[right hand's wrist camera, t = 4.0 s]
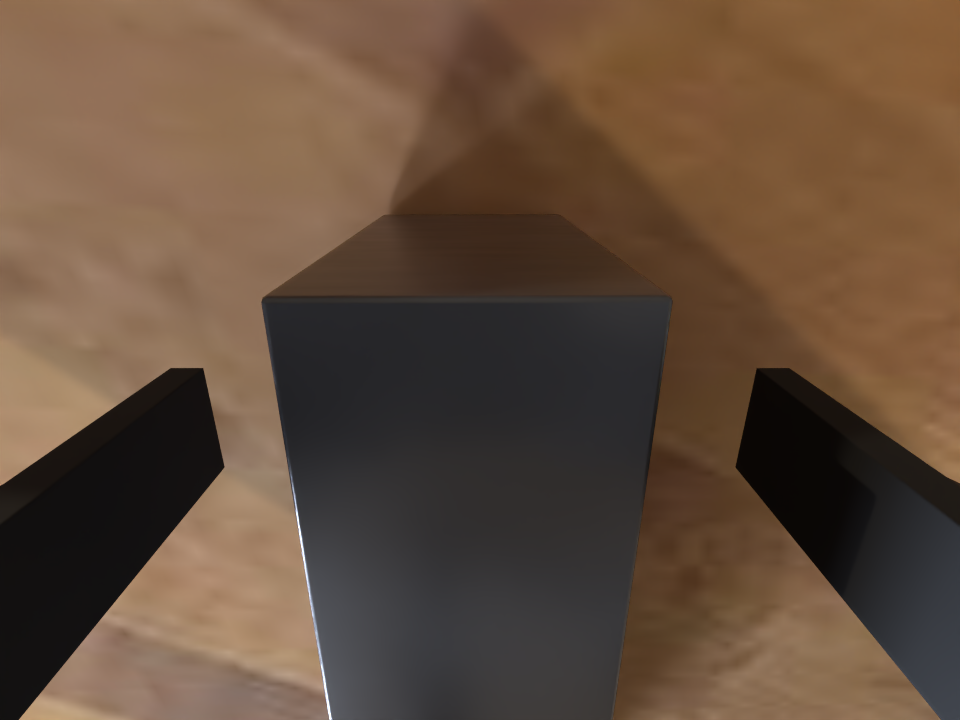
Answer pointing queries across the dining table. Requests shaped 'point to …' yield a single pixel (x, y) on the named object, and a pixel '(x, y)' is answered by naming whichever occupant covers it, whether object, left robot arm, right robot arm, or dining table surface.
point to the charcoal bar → (468, 462)
